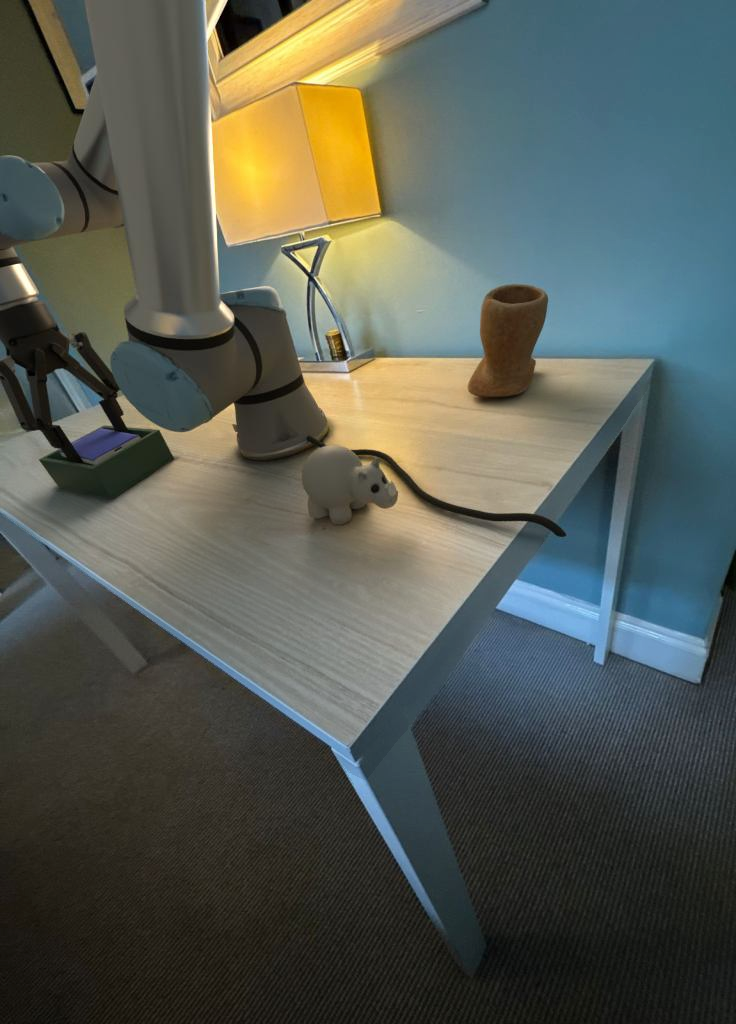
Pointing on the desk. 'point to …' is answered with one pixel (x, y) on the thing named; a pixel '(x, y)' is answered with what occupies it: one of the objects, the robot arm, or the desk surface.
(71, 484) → the tub
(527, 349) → the brown clay boot vase
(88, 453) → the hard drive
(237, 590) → the desk surface
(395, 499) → the chubby cartoon animal
